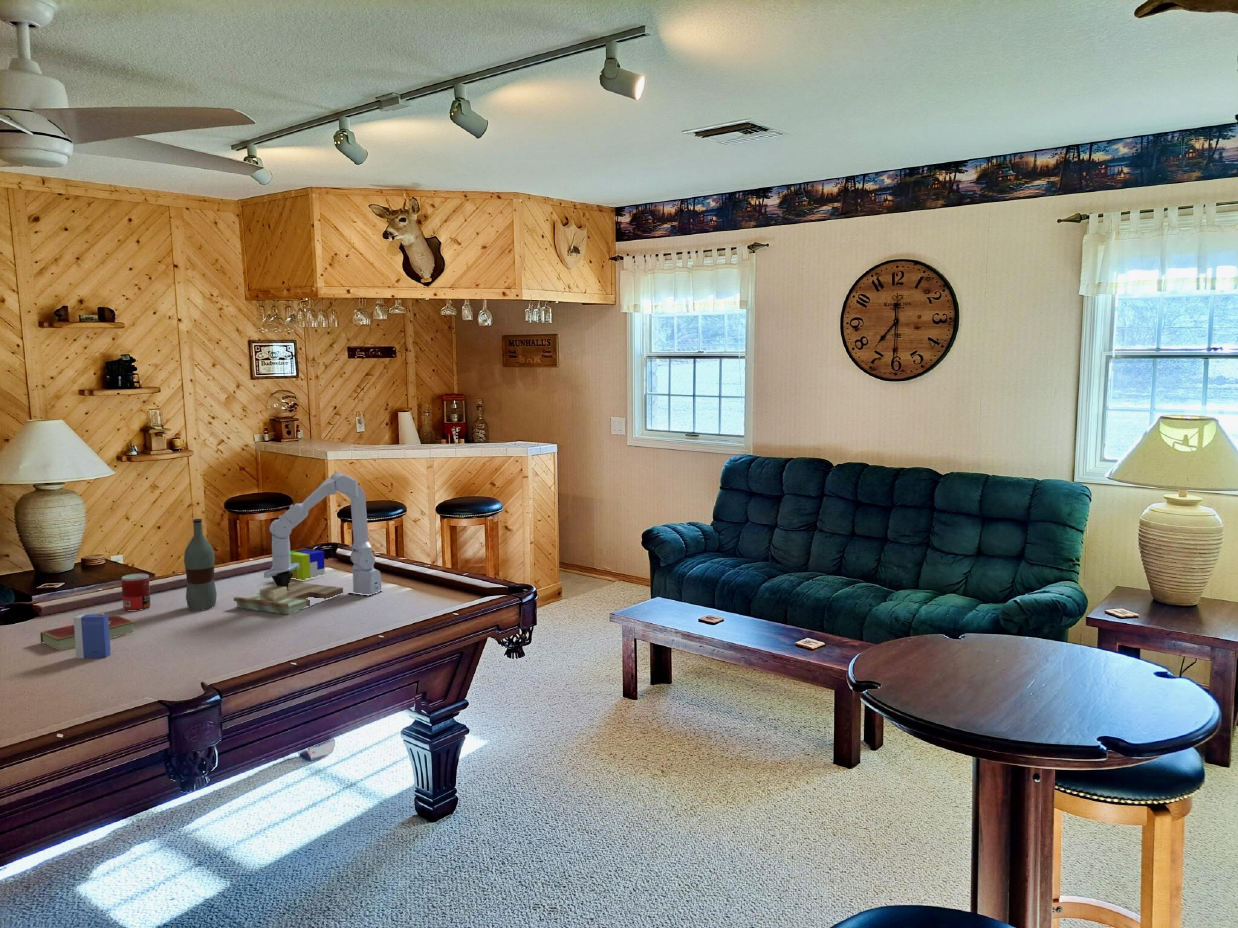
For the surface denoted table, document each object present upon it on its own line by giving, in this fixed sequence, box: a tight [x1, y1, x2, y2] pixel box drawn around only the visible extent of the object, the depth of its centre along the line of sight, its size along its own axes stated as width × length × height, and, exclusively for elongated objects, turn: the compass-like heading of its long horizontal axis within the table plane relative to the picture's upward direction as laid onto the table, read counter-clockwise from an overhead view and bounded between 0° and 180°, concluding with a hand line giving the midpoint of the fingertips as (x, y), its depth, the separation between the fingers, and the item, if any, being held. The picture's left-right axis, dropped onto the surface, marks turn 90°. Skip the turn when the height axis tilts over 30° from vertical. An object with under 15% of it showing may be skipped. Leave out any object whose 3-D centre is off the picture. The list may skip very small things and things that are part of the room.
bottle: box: [183, 518, 218, 611], centre depth 283 cm, size 9×9×30 cm
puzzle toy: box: [290, 547, 326, 580], centre depth 326 cm, size 10×10×10 cm
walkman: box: [73, 612, 112, 659], centre depth 236 cm, size 8×3×12 cm, turn 96°
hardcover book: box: [39, 614, 136, 651], centre depth 252 cm, size 12×21×4 cm, turn 144°
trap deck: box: [233, 581, 344, 615], centre depth 293 cm, size 22×28×4 cm
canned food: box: [121, 573, 151, 611], centre depth 283 cm, size 8×8×11 cm
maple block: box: [259, 584, 287, 602], centre depth 285 cm, size 6×6×4 cm
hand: (282, 593), depth 289 cm, fingers closed
